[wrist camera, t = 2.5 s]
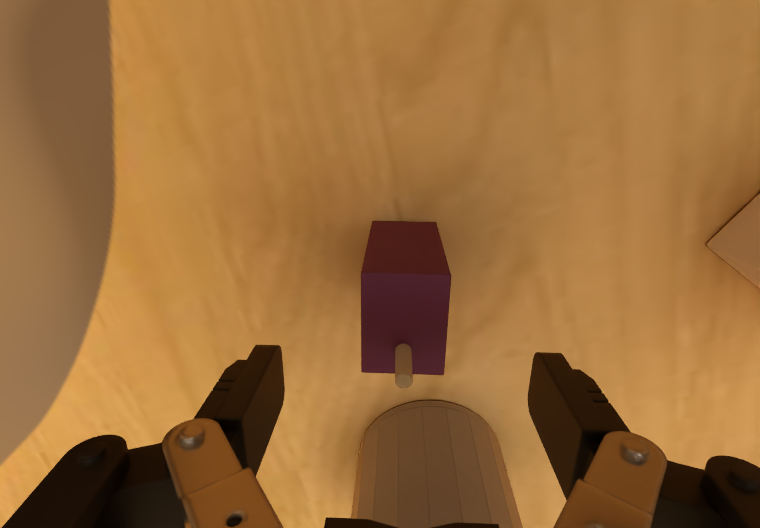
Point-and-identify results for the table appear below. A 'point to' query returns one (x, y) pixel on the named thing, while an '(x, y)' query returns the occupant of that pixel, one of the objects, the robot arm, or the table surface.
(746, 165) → the table surface
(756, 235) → the milk
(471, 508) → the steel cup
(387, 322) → the juice box
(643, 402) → the table surface
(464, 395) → the table surface
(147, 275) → the table surface
